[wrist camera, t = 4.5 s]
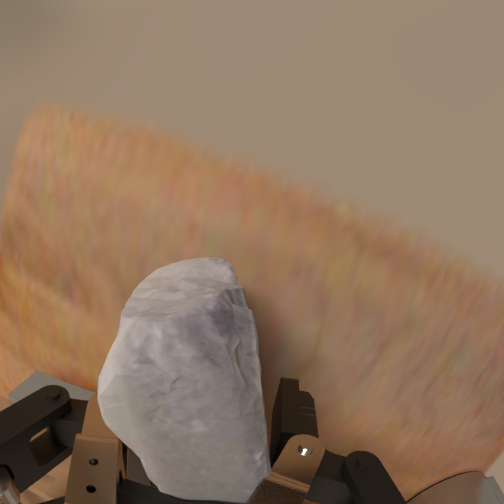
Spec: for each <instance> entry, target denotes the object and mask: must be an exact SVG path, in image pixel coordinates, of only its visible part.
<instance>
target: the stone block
mask: <svg viewBox="0 0 504 504" xmlns="http://www.w3.org/2000/svg"><path fill="white" fill-rule="evenodd" d="M261 375H262V367H261V363H260V358H259V346H258V333H257V328H256V323H255V319H254V315H253V312H252V310H249V308H247V302H246V297H245V292H244V288H243V287H242V286H239V284H238V280H237V276H236V274H235V271H234V267H233V266H232V265H231V264H230V263H229V262H228V261H227V260H225V259H223V258H217V257H202V258H193V259H187V260H182V261H178V262H175V263H172V264H169V265H167V266H164V267H161V268H159V269H156V270H155V271H154V272H153V273H152V274H150V275H149V276H148V277H147V278H145V279H144V280H143V281H142V282H140V283H139V285H138V286H137V288H136V289H135V290H134V291H133V293H132V295H131V297H130V298H129V299H128V301H127V302H126V304H125V306H124V309H123V310H122V313H121V318H120V328H119V331H118V335H117V338H116V340H115V341H114V343H113V345H112V347H111V349H110V351H109V353H108V356H107V358H106V361H105V364H104V366H103V368H102V371H101V373H100V375H99V377H98V397H97V400H98V404H99V407H100V411H101V415H102V418H103V420H104V422H105V424H106V425H107V427H108V428H109V429H110V430H111V431H112V432H113V433H114V434H115V435H116V436H117V437H118V438H119V439H120V440H121V441H122V442H123V443H125V444H126V445H127V446H128V447H129V448H130V449H132V450H133V452H134V453H135V454H136V455H137V456H138V457H139V458H140V460H141V462H142V464H143V467H144V469H145V471H146V474H147V476H148V478H149V479H150V480H151V481H152V482H153V483H154V484H155V485H156V486H157V490H158V491H160V492H162V493H164V494H166V495H168V496H170V497H172V498H174V499H176V500H179V501H188V502H214V503H219V504H245V503H246V502H247V500H248V499H249V497H250V496H251V494H252V493H253V492H254V490H255V489H256V487H257V486H258V484H259V483H260V481H261V479H263V478H265V477H267V476H270V475H272V472H271V466H270V457H269V448H268V436H267V421H266V417H265V403H264V396H263V389H262V384H261Z"/></svg>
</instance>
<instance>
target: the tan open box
mask: <svg viewBox="0 0 504 504" xmlns="http://www.w3.org/2000/svg"><path fill="white" fill-rule="evenodd" d="M12 404H14V402H12V401H10V400H8V399H6V398H4V397H2V396H0V411H2V410H4V409H5V408H7V407H9V406H11V405H12ZM45 431H47V429H46V428H45V429H44V430H42V431H41V432H39V433H38V434H36V435H35V436H33V437H32V438H31V440H30V442H31V441H32V440H34V439H35V438H37V437H38V436H40V435H41V434H43V433H44V432H45ZM71 457H72V454H71V455H70V456H69V457H68V458H66V459H65V460H64V461H63V462H61V463H60V464H59V465H57V466H56V467H55V468H54V469H52V470H51V471H50V472H48V473H47V474H46V475H45V476H43V477H42V478H41V479H39V480H38V481H37V482H35V483H34V484H33V485H31V486H30V487H29V488H27V489H26V490H25V491H24V492H22V493H21V494H20V501H19V504H39V503H42V502H46V501H49V500H52V499H56V498H59V497H62V496H65V494H66V487H67V481H68V475H69V469H70V463H71Z"/></svg>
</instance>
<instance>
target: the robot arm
mask: <svg viewBox="0 0 504 504" xmlns="http://www.w3.org/2000/svg"><path fill="white" fill-rule="evenodd" d="M97 397H98V393H97V394H94V395H93V396H91V397H90V399H89V400H79V399H72V398H70V395H69V392H68V391H67V390H66V389H65V388H64V387H62V386H59V385H47V386H44V387H42V388H40V389H39V390H37V391H35V392H33V393H32V394H30V395H28V396H26V397H25V398H23V399H21V400H19V401H18V402H16V403H14V404H12V405H11V406H9V407H7V408H5V409H4V410H2V411H0V504H19V501H20V494H21V493H22V492H24V491H25V490H26V489H27V488H29V487H30V486H31V485H33V484H34V483H35V482H37V481H38V480H39V479H41V478H42V477H43V476H45V475H46V474H47V473H48V472H50V471H51V470H52V469H54V468H55V467H56V466H57V465H59V464H60V463H61V462H63V461H64V460H65V459H66V458H68V457H69V456H70V455H71V454H72V457H71V463H70V469H69V475H68V481H67V487H66V494H65V496H62V497H59V498H56V499H52V500H49V501H46V502H42V503H39V504H219V503H214V502H188V501H179V500H176V499H174V498H172V497H170V496H168V495H166V494H164V493H162V492H160V491H158V490H156V489H154V488H153V487H150V486H147V485H144V484H140V483H137V482H134V481H131V480H129V479H128V446H127V445H126V444H125V443H123V442H122V441H121V440H120V439H119V438H118V437H117V436H116V435H115V434H114V433H113V432H112V431H111V430H110V429H109V428H108V427H107V425H106V424H105V422H104V420H103V418H102V415H101V411H100V407H99V404H98V400H97ZM315 415H316V412H315V404H314V399H313V398H312V396H311V395H310V394H309V392H303V391H299V381H298V380H297V379H290V378H283V377H282V378H281V380H280V384H279V388H278V392H277V396H276V400H275V404H274V408H273V414H272V428H271V444H270V466H271V472H272V475H270V476H267V477H265V478H263V479H261V481H260V483H259V484H258V486H257V487H256V489H255V490H254V492H253V493H252V494H251V496H250V497H249V499H248V500H247V502H246V503H245V504H302V503H303V501H304V499H307V500H311V501H314V502H317V503H320V504H504V494H503V492H502V491H501V489H500V487H499V485H498V483H497V482H496V480H495V478H494V477H493V476H491V477H486V476H485V475H484V474H483V473H480V472H469V473H464V474H460V475H457V476H454V477H452V478H449V479H447V480H444V481H442V482H440V483H438V484H436V485H434V486H432V487H431V488H429V489H427V490H425V491H424V492H422V493H420V494H419V495H417V496H416V497H414V498H413V499H412V500H410V501H409V502H408V503H406V501H405V500H404V498H403V497H402V495H401V493H400V492H399V490H398V489H397V487H396V485H395V484H394V482H393V481H392V479H391V477H390V476H389V474H388V473H387V471H386V469H385V468H384V466H383V465H382V463H381V461H380V460H379V459H378V458H377V457H376V456H375V455H374V454H372V453H369V452H366V451H355V452H352V453H350V454H349V455H348V456H347V457H343V456H340V455H336V454H333V453H331V452H329V451H327V450H326V449H325V446H324V444H323V443H322V442H321V441H320V440H319V438H318V429H317V421H316V416H315ZM45 428H46V429H47V431H45V432H44V433H43V434H41V435H40V436H38V437H37V438H35V439H34V440H32V441H31V442H30V440H31V438H32V437H33V436H35V435H36V434H38V433H39V432H41V431H42V430H44V429H45Z"/></svg>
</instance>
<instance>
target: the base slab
mask: <svg viewBox="0 0 504 504" xmlns="http://www.w3.org/2000/svg"><path fill="white" fill-rule="evenodd" d="M47 385H59V386H62V387H64V388H65V389H66V390H67V391H68V392H69V395H70V398H72V399H79V400H89V399H90V397H91V396H93V395H94V394H97V393H94V392H91V391H88V390H86V389H83V388H80V387H77V386H75V385H72V384H69V383H67V382H64V381H62V380H59V379H57V378H54V377H52V376H49V375H47V374H45V373H42V372H40V371H38V370H37V371H36V372H35V373H33V374H32V375H31V376H30V377H29V378H27V379H26V380H25V381H24V382H23V383H21V384H20V385H19V386H18V387H17V388H15V389H14V390H13V391H12V392H11V393H9V394H8V396H9V399H10V401H12V402H14V403H16V402H18V401H19V400H21V399H23V398H25V397H26V396H28V395H30V394H32V393H33V392H35V391H37V390H39V389H40V388H42V387H44V386H47ZM128 479H129V480H131V481H134V482H137V483H140V484H144V485H147V486H150V487H151V483H150V479H149V478H148V476H147V474H146V471H145V469H144V467H143V464H142V462H141V460H140V458H139V457H138V456H137V455H136V454H135V453H134V452H133V450H132V449H130V448H129V447H128Z"/></svg>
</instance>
